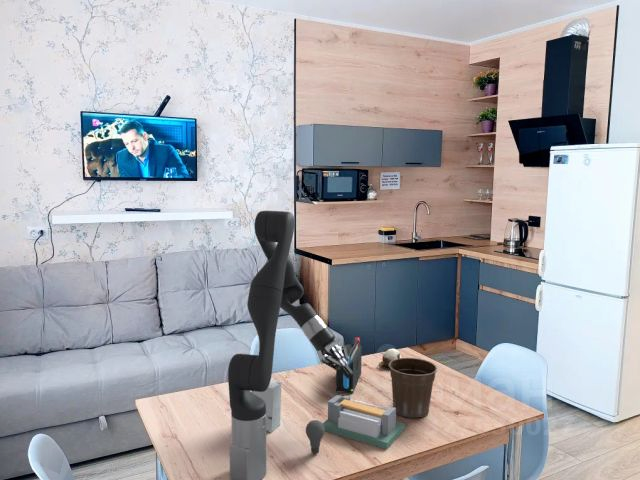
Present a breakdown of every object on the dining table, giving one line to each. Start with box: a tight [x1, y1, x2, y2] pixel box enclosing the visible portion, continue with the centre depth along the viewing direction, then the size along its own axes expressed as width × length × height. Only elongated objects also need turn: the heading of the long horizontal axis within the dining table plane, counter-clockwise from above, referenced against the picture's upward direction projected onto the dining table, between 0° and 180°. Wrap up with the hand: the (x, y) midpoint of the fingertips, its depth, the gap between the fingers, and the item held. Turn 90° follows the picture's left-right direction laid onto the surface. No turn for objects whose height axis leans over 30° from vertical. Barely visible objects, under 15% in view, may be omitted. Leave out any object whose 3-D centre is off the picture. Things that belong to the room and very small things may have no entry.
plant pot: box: [389, 357, 438, 419], centre depth 182 cm, size 16×16×16 cm
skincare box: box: [251, 379, 283, 433], centre depth 171 cm, size 8×6×15 cm
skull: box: [378, 348, 402, 370], centre depth 225 cm, size 12×10×10 cm
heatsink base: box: [321, 394, 406, 450], centre depth 169 cm, size 14×22×8 cm, turn 59°
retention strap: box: [340, 399, 386, 418], centre depth 169 cm, size 15×4×1 cm, turn 59°
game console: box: [335, 336, 363, 394], centre depth 207 cm, size 28×6×15 cm, turn 167°
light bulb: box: [305, 419, 326, 455], centre depth 155 cm, size 6×6×10 cm
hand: (350, 376), depth 170 cm, fingers closed
